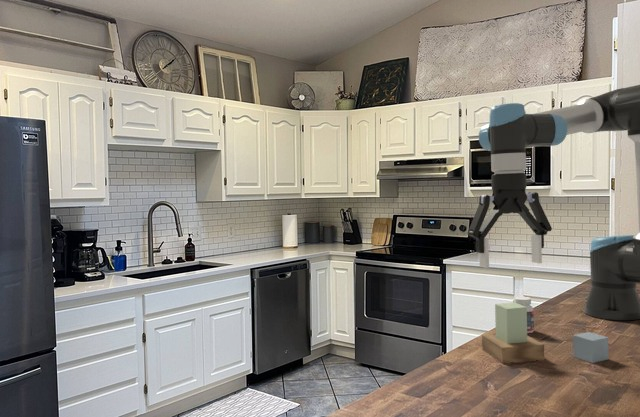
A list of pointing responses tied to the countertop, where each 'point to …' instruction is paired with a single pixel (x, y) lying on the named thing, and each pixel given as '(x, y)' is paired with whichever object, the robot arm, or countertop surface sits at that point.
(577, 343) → the slate cube
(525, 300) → the pill bottle
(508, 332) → the sage block
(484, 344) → the walnut slab
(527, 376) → the countertop surface
